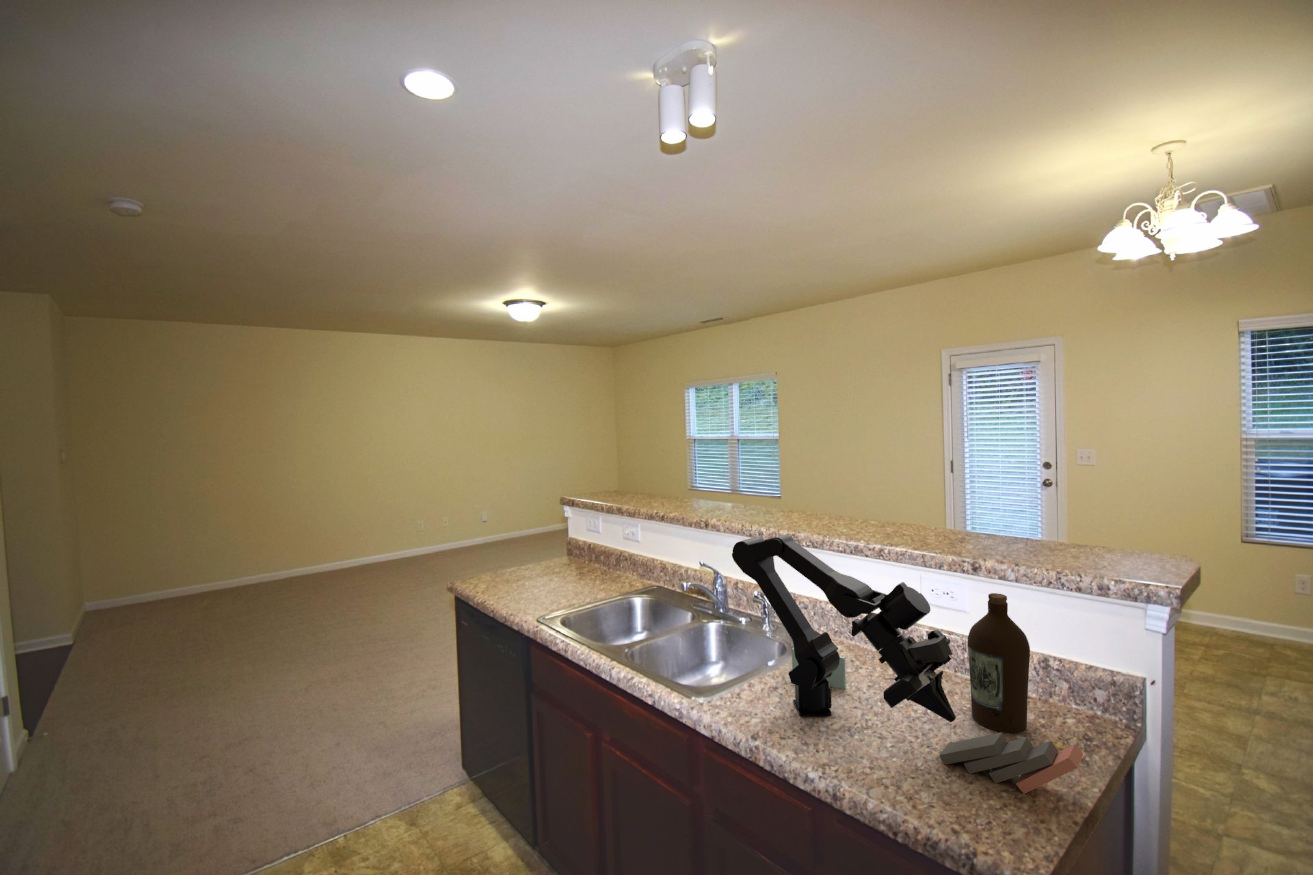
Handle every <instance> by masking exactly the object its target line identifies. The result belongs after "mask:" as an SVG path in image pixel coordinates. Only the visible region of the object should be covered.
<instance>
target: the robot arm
mask: <svg viewBox="0 0 1313 875" xmlns="http://www.w3.org/2000/svg"><path fill="white" fill-rule="evenodd" d="M775 556H776V557H778V558H779V559H781V560H782V561H784V563H786V564H787V565H789V566H790V567H791V568H793V569H794V570H795V571H797V572H798V573H799V574H801V575H802V576H803V577H804V578H806V579H807V580H808V581H810V582H811V583H813V584H814V585H815V586H816V587H817V588H819V589H820V591H822V592H823V593H824V595H825V597H826V599H827V601H828V602H829V604H831V606H832V607H833V608H834V609H836V611H837V612H838V613H839V614H840V615H842V616H843V617H845V618H848V619H852V618H856V619H853V620H852V621H851V627H852V628H851V633H850V635H851V636H852V637H855V636H857V635H859V634H860V633H862V634H863V636H865V638H866V639H867V641H869V643H871V646H872V647H873V648H874V649H875V650H876V652H877V653H878V654H879V655H880V657H879V658H878V659H877V660H878V661H879V662H880V664H881V665H883V664H884V663H887V665H888V666H889V668H891V670H892V671H893V673H894V674H895V675H896V677H894V679H893V680H894V682H893V683H892V684H890V685H889V686H888V687H887V688H885V690H883V701H885V702H886V704H887V706H889V708H890V709H893V708H895V707H896V706H897V705H899V704H900V703H901V702H903V701H905V700H906V701H907V702H909V701H912V702H913V703H915V704H917V705H919V706H921V707H923V708H925V709H927V710H928V711H930V712H932V713H934V714H935V715H937V716H939V717H941V718H943V719H944V720H946V721H947V722H949V723H952V722H954V721H955V720H956V719H957V716H956V714H955V712H954V710H953V707H952V706H951V704H950V702H949V699H948V697H947V695H946V693H945V691H944V688H943V685H942V682H943V675H944V671H943V670H941V671H939V672H938V673H936V672H935V671H936V670H938V669H939V668H941V667H942V666H943V665H944V666H945V665H946V664H948V663H949V662H950V661H951V660H952V657H950V656H952V655H953V652H952V650H951V648H950V646H949V645H951V644H950V643H951V639H949V638H947V636H946V635H945V634H943V632H941V630H939V629H934V630H930V631H929V632H928V633H927V638H925V639H922V640H921V641H920V640H919V641H917V640H916V639H915V638H914V637H913V636H911V635H908V636H907V637H906V636H905V635H904V634H903V633H902V631H901V630H903V631H906V630H909V629H910V628H911V627H912V626H914V625H915V624H917V623H918V622H919V621H921V620H922V619H923V618H924V617H926V616H928V615H929V614H930V613H931V606H930V604H929V602H928V600H927V599H926V597H925V596H924V595H923V594H922V593H921V592H919V591H918V590H916V589H915V588H913V587H911V586H908V585H907V584H906V583H905V582H904V581H902V582H900V583H898V584H897V585H895V587H894V588H893V589H892V590H891V591H889V593H888V594H887V593H884V592H881V591H878V590H876V589H872V587H870V585H869V584H867V583H866V582H863V581H861V580H859V579H858V578H855V577H853V576H850V575H847V574H843V573H841V572H839V571H836V570H835V569H834V568H832V567H831V566H829V565H828V564H826V563H825V562H824V561H823V560H821V559H819V557H817V556H816V555H814V554H813V553H811V552H810V551H809V550H807V549H806V548H804V547H803V546H802V545H800V544H799V543H798V542H796V541H795V540H794V538H793V537H791V536H790V535H788V534H783V535H778V536H775V537H770V538H767V539H764V538H763V537H759V536H756V537H751V538H748V539H744V540H740V541H738V542H736V543H735V544H734V545H733V547H732V553H731V557H732V559H733V562H734V563H735V565H737V567H738V568H739V569H740V571H741V572H742V573H743V574H745V575H746V576H748V577H749V578H750V579H752V580H754V581H755V582H756V584H757V585H758V586H759V588H760V590H761V593H763V595H764V596H765V598H766V599H767V601H768V603H769V605H770V607H771V608H772V609H773V611H774V613H775V615H777V617H778V619H779V621H780V622H781V624H782V626H783V627H784V629H785V630H786V632H787V633H788V636H789V637H790V639H791V641H792V645H793V647H794V653H795V658H796V660H797V662H798V664H799V665H798V666H796V667H795V668H794V669H793V670H792V669H791V670H790V671H789V672H788V678H789V679H790V683H791V684H793V685H794V695H795V696H794V699H793V700H792V702H793V705H794V706H795V709H796V711H797V712H798V714H799V716H800V717H823V716H824V717H825V716H826V717H828V716H832V714H833V712H832V710H831V709H832V688H831V686H829V684H828V681H827V679H826V678H828V677H830V676H831V675H832V672H833V671H834V670H836V669H837V668H838V666H839V660H840V656H841V655H840V654H839V652H838V651H839V647H838V646H837V645H836V644H834V642H833V640H832V639H831V636H830V634H829V633H828V632H827V631H823V632H822V633H820V632H819V631H817V630H815V629H814V628H813V627H812V625H811V624H810V622H809V620H808V619H807V618H806V616H805V615H804V613H803V611H802V610H801V608H800V607H799V605H798V604H797V601H795V599H794V597H793V596H792V594H791V593H790V591H789V589H788V588H787V586H786V584H784V582H783V580H782V579H781V577H780V576H779V574H778V571H776V568H775V559H774V557H775ZM878 609H879V610H880V611H879V612H878V613H876V612H874V611H876V610H878ZM860 615H865V616H864V617H863V618H861V619H859V618H857V617H859V616H860Z"/></svg>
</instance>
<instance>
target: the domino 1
mask: <svg viewBox="0 0 1313 875" xmlns="http://www.w3.org/2000/svg"><path fill="white" fill-rule="evenodd" d="M1007 740H1008V739H1007V738H1006V737H1005V735H1004V732H996V733H992V734H988V735H983V736H977V737H972V738H967V739H962V740H957V741H953V742H948V743H947V745H946V746H944V748H943V749H942V751H941V752H940V753H939V754H938V756H939V758H940V760H941V762H942V764H943V765H949V764H950V765H951V764H954V763H955V764H956V763H961V762H966V761H967V760H973V759H978V758H984V757H989V756H995V755H1000V753H1001V751H1002V750H1003V748H1004V747H1005V745H1006V744H1007V742H1008V741H1007Z"/></svg>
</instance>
